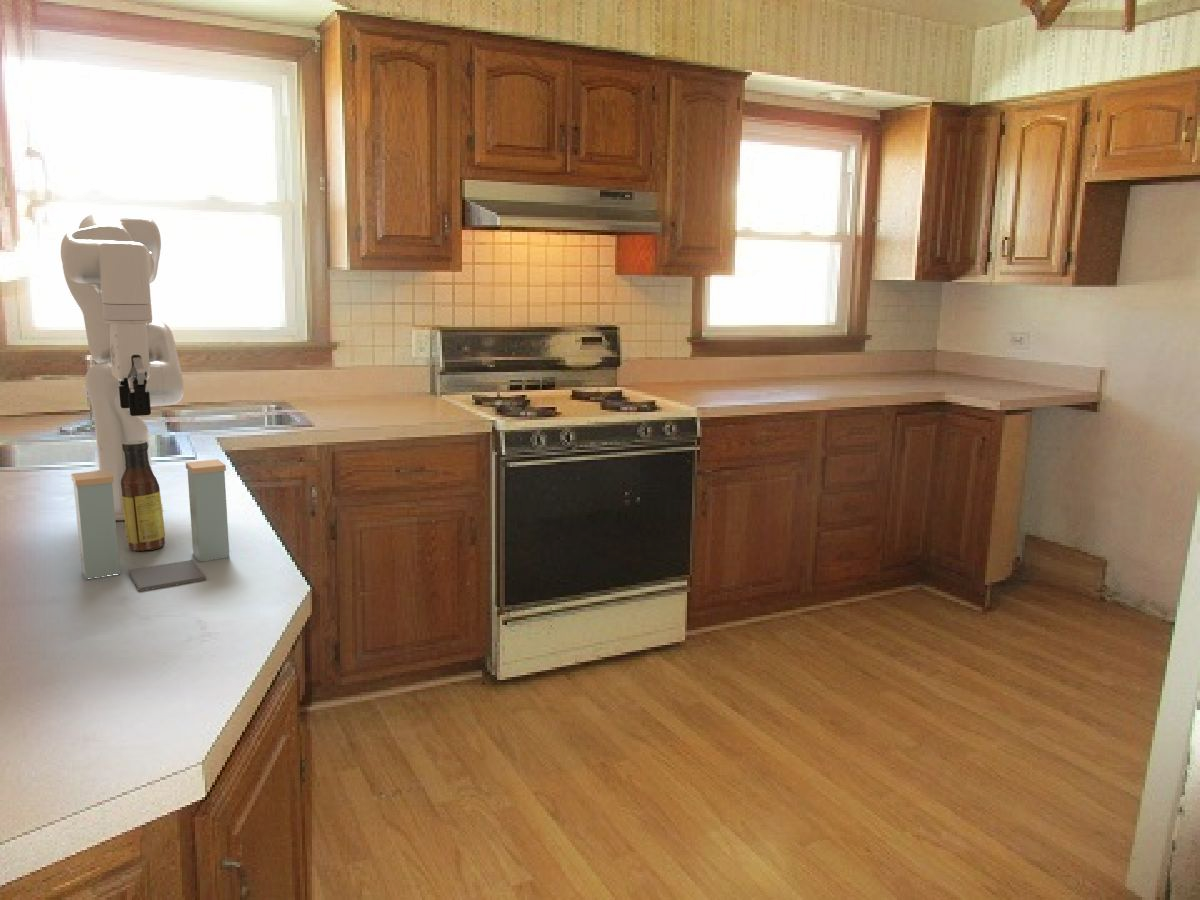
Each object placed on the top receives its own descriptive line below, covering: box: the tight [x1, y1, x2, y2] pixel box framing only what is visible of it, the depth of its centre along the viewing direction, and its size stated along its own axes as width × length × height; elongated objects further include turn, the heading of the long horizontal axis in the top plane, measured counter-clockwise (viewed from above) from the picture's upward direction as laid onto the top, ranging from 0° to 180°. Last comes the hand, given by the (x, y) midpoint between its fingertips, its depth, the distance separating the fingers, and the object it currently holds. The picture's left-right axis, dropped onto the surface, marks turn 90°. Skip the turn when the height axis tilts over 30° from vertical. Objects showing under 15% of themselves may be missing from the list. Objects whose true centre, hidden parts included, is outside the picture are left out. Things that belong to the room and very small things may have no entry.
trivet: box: [127, 559, 207, 592], centre depth 147 cm, size 10×10×1 cm
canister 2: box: [185, 458, 230, 562], centre depth 156 cm, size 5×5×17 cm
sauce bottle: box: [121, 440, 166, 552], centre depth 160 cm, size 6×6×20 cm
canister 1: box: [70, 470, 121, 580], centre depth 146 cm, size 5×5×17 cm
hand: (135, 411), depth 156 cm, fingers open, 9 cm apart
